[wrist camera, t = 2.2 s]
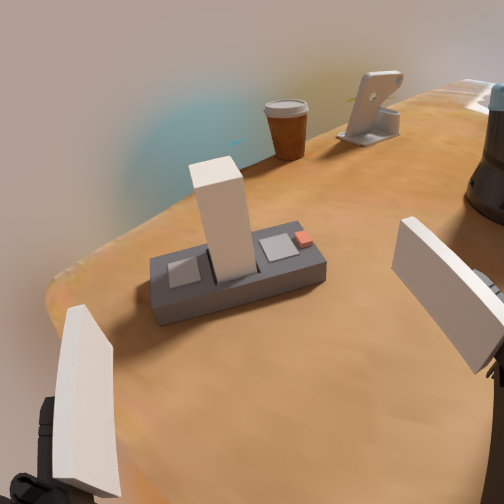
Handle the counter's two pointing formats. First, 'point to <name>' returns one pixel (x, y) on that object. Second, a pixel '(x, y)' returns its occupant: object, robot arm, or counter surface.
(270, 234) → the power strip
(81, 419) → the robot arm
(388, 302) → the counter surface
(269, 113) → the disposable coffee cup
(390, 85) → the phone holder
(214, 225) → the block
